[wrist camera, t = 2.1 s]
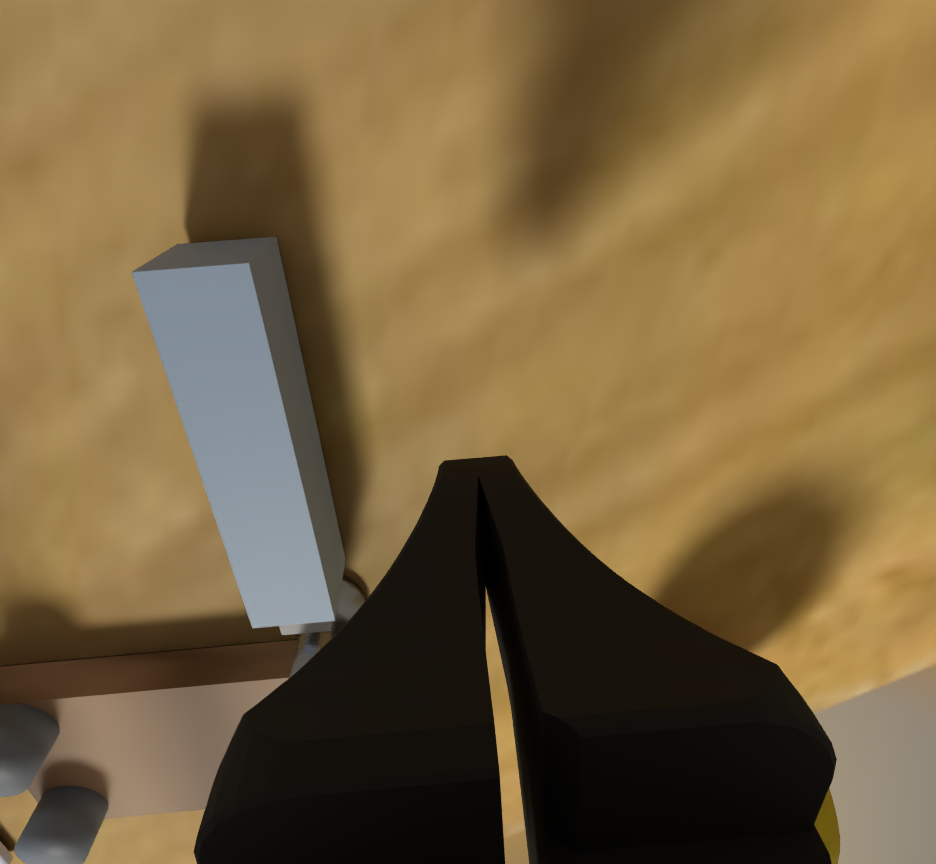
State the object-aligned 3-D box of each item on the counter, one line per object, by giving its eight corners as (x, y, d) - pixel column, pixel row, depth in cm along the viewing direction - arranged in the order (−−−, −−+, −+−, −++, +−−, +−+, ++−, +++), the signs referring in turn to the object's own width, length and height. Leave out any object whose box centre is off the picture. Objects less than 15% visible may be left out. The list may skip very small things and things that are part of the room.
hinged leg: (351, 586, 19) (341, 649, 17) (280, 593, 19) (261, 656, 17) (276, 236, 13) (248, 263, 11) (177, 244, 13) (131, 272, 11)
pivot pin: (288, 638, 20) (265, 726, 17) (269, 575, 19) (241, 659, 16) (372, 630, 20) (363, 717, 17) (359, 567, 19) (347, 650, 16)
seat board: (74, 782, 23) (28, 873, 20) (-3, 666, 20) (-70, 756, 17) (386, 752, 23) (380, 839, 21) (360, 634, 20) (350, 717, 17)
